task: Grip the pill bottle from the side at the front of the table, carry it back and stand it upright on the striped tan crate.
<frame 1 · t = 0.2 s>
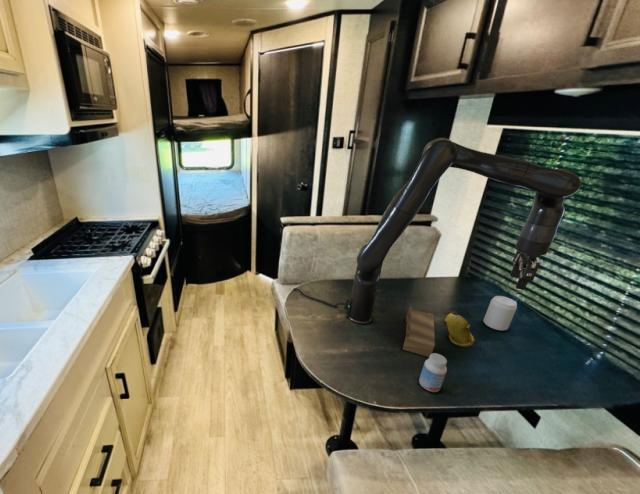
hand: (516, 282, 102), 29 cm above the table, tool pointing down, fingers open, 8 cm apart
white cylinder: (494, 325, 128), on the table
pill bottle: (429, 385, 101), on the table
yellow flared lump: (455, 343, 119), on the table
striped tan crate: (416, 337, 122), on the table
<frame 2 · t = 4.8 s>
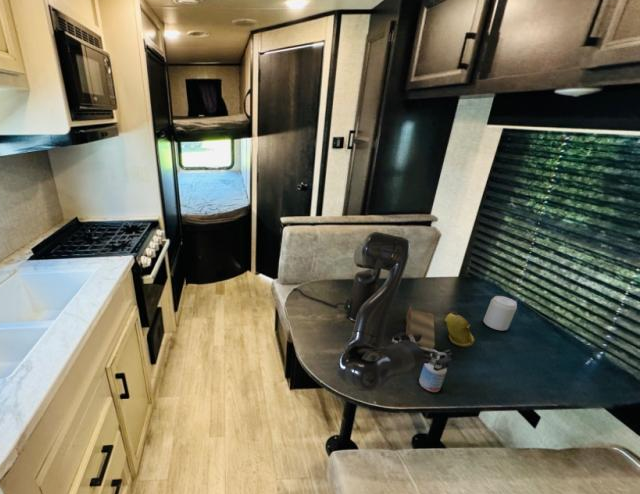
hand: (434, 344, 91), 18 cm above the table, tool horizontal, fingers open, 8 cm apart
nothing on the table moved.
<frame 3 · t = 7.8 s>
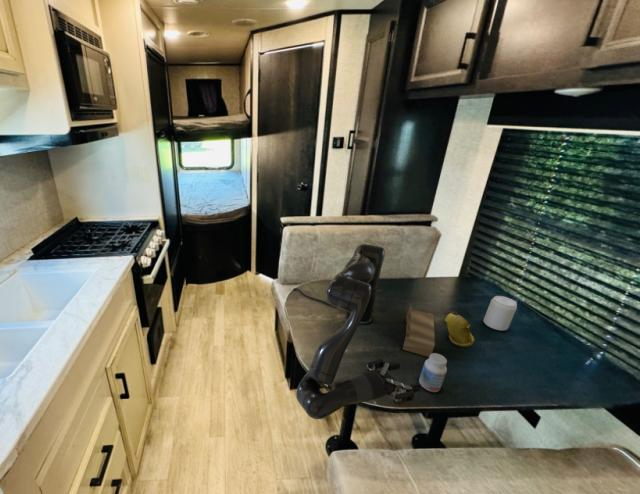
hand: (409, 375, 95), 7 cm above the table, tool horizontal, fingers open, 8 cm apart
nothing on the table moved.
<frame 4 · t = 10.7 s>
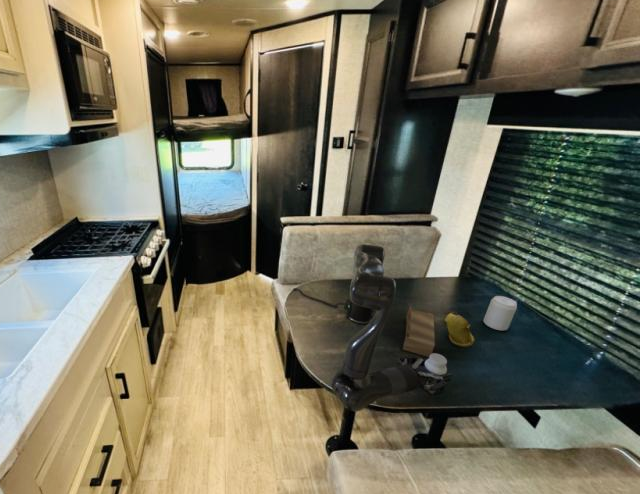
hand: (440, 368, 99), 7 cm above the table, tool horizontal, fingers closed on pill bottle, 6 cm apart
pill bottle: (429, 385, 101), on the table, touching gripper
everything else where it was.
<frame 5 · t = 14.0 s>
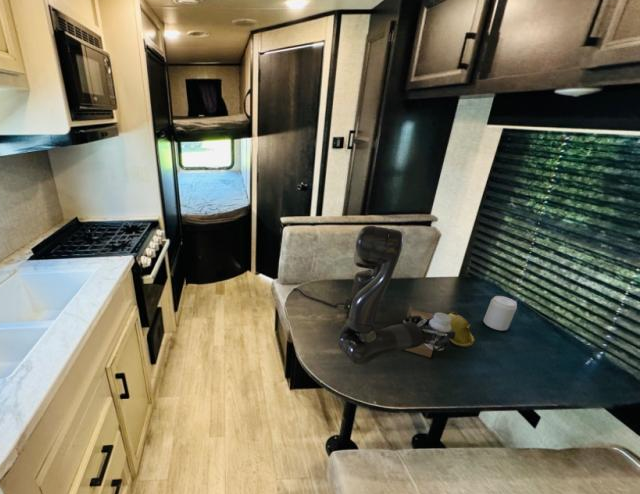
hand: (444, 327, 100), 18 cm above the table, tool horizontal, fingers closed on pill bottle, 6 cm apart
pill bottle: (433, 345, 102), point 11 cm above the table, touching gripper
everything else where it was.
when the fingers open (13 cm above the table, at t = 17.5 s): pill bottle stays where it is, resting on striped tan crate.
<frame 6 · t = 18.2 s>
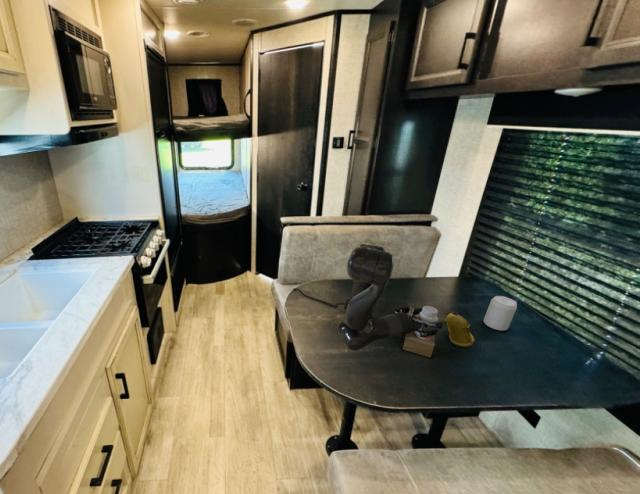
hand: (431, 317, 111), 13 cm above the table, tool horizontal, fingers open, 8 cm apart
pill bottle: (422, 335, 114), point 6 cm above the table, touching striped tan crate
everything else where it was.
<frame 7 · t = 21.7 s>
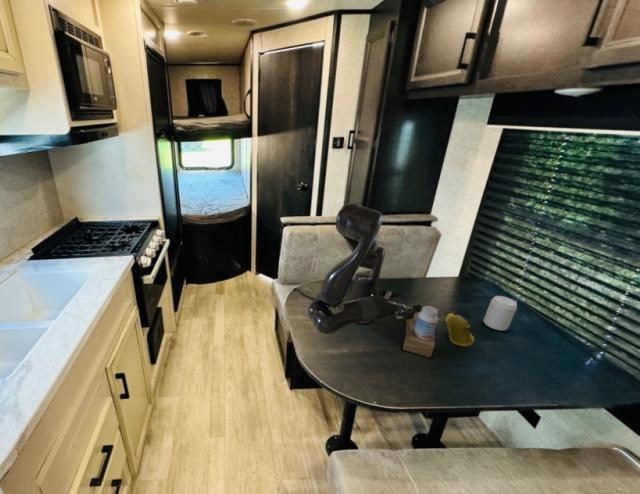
hand: (410, 300, 105), 23 cm above the table, tool horizontal, fingers open, 8 cm apart
nothing on the table moved.
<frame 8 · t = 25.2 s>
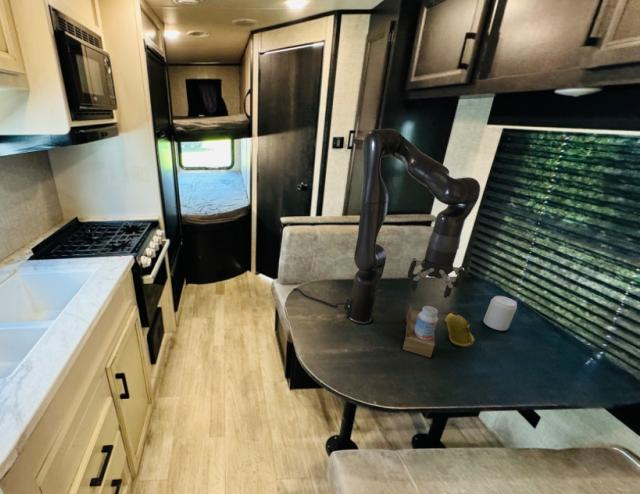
hand: (429, 293, 99), 28 cm above the table, tool pointing down, fingers open, 8 cm apart
nothing on the table moved.
at the end: pill bottle inside the target area on the striped tan crate (6.1 cm from its centre), point 5.8 cm above the striped tan crate's base; pill bottle tilted 0°; the gripper is holding nothing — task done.
